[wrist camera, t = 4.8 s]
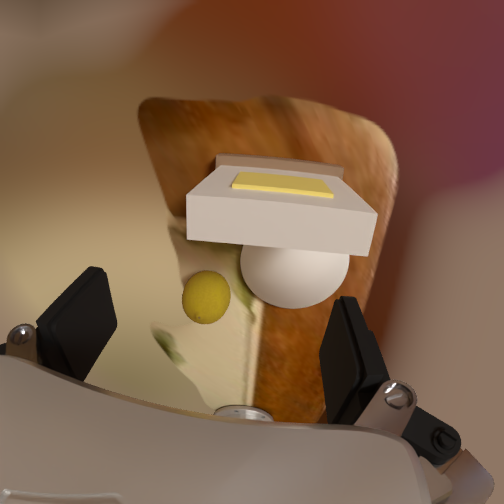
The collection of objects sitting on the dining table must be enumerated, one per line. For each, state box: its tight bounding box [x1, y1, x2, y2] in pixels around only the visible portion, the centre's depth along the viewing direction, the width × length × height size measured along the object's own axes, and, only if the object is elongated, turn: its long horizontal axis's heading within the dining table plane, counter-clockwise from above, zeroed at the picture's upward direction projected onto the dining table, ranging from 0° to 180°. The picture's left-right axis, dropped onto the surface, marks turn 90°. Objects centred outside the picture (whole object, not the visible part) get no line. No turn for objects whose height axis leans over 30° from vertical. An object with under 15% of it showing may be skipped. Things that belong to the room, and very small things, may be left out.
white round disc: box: [240, 245, 349, 309], centre depth 34 cm, size 13×13×1 cm
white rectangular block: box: [186, 153, 378, 256], centre depth 24 cm, size 5×13×14 cm, turn 86°
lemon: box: [182, 271, 231, 324], centre depth 32 cm, size 6×6×8 cm
